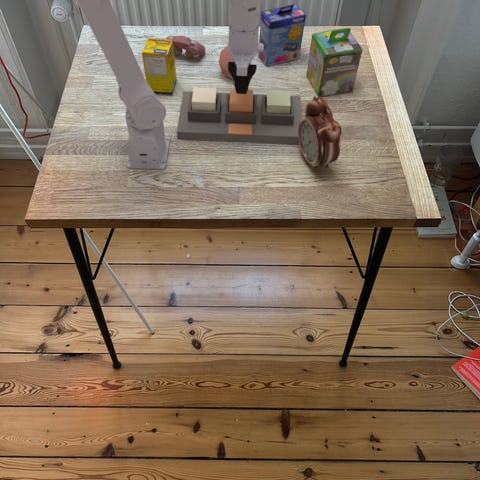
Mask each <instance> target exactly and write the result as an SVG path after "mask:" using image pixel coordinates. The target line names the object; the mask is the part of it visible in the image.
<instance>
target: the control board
mask: <svg viewBox="0 0 480 480" xmlns="http://www.w3.org/2000/svg"><path fill="white" fill-rule="evenodd" d="M192 96H193V91H188V90H187V91H186V90H183V91H182V97H181V103H180V104H181V105H180V110H179V116H178V122H177V127H176V128H177V129H176V138H177V140H189V141H190V140H193V141H195V140H196V141H216V142H219V141H220V142H222V141H223V142H238V143H240V142H241V143H243V142H245V143H266V144H267V143H268V144H289V145H290V144H294V145H295V144H296V145H300V144H299V139H298V127H299V122H300V119H301V117H302V116H303V114H302V101H301V100H302V99H301V96H300V95H290V104H291V107H290V114H269V113H266V97H267V94H259V93H253V111H252V113H244V112H229V101H230V92H217V102H216V111H196V110H192Z"/></svg>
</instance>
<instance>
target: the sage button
mask: <svg viewBox="0 0 480 480" xmlns="http://www.w3.org/2000/svg"><path fill="white" fill-rule="evenodd" d="M266 95H267V97H266V113H269V114H290V107H291V104H290V96H291V91H290V90H267V89H266Z"/></svg>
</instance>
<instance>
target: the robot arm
mask: <svg viewBox="0 0 480 480" xmlns="http://www.w3.org/2000/svg"><path fill="white" fill-rule="evenodd" d="M75 1H76V2H77V5H78V7H79V8H80V11H81V12H82V14H83V17H84V18H85V20H86V22H87V24H88V26H89V29H90V30H91V32H92V33H93V36H94V38H95V40H96V42H97V43H98V46H99V47H100V49H101V51H102V53H103V55H104V57H105V59H106V61H107V63H108V65H109V66H110V69H111V71H112V72H113V75H114V76H115V81H116V82H117V85H118V91H117V92H118V97H119V99H120V100H121V101H122V103H124V105H125V107H126V109H125V116H124V117H125V120H126V122H125V123H126V126H127V132H128V138H127V143H126V147H127V151H128V153H127V154H128V156H127V161H126V164H125V165H126V168H129V169H130V168H131V169H132V168H133V169H151V170H153V169H154V170H155V169H156V170H164V169H166V167H167V166H166V165H167V161H168V154H169V148H170V142H171V137H170V136H166V134H165V126H164V120H165V118H166V116H167V115H166V114H167V108H166V106H165V105H164V103H163V102H161V101H160V99H159V98H158V95H157V94H155V93H154V92H153V90H152V89H151V87H150V86H149V84H148V82H147V80H146V77H145V75H144V73H143V72H142V68H140V67H141V66H140V65H139V63H138V60H137V58H136V56H135V53H134V51H133V50H132V47H131V45H130V43H129V40H128V38H127V36H126V34H125V32H124V30H123V27H122V25H121V23H120V21H119V19H118V16H117V15H116V12H115V10H114V8H113V6H112V3H111V0H75ZM261 3H262V0H228V42H227V45H228V51H229V53H230V55H231V57H232V59H233V61H234V62H228V71H229V73H230V74H231V76H232V78H231V79H232V80H233V85H234V89H235V90H236V93H237V94H246V93H247V91H248V90H249V87H250V83H251V81H252V78H253V76H254V75H255V74H256V72H257V65H258V64H252V62H253V60H254V58H255V57H256V55H258V54H257V53H258V52H263V49H264V45H263V44H262V43H259V33H260V17H261Z"/></svg>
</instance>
